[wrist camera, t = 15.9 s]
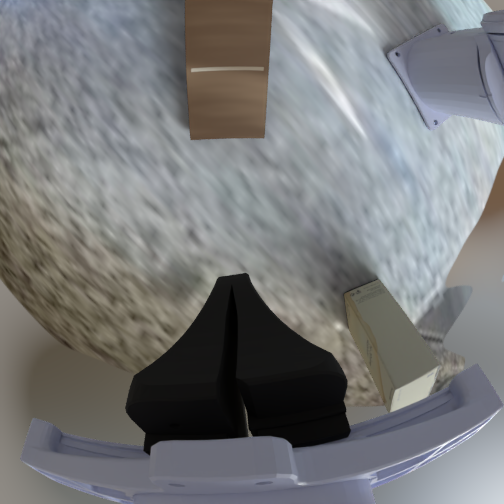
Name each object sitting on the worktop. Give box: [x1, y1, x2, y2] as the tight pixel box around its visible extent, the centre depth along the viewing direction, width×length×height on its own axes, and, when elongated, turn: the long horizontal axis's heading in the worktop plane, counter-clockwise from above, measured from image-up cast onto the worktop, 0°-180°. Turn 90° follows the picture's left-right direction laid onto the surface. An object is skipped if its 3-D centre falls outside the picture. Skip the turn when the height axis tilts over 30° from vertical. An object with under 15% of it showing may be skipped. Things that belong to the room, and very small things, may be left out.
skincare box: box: [344, 279, 440, 413], centre depth 22 cm, size 6×4×12 cm
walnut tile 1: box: [185, 0, 273, 140], centre depth 14 cm, size 2×5×10 cm
